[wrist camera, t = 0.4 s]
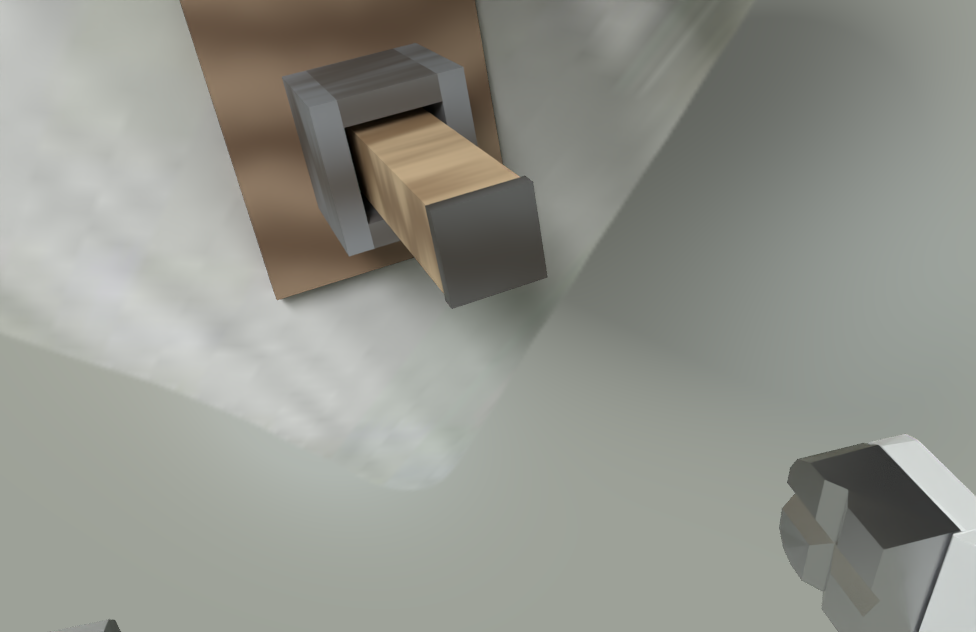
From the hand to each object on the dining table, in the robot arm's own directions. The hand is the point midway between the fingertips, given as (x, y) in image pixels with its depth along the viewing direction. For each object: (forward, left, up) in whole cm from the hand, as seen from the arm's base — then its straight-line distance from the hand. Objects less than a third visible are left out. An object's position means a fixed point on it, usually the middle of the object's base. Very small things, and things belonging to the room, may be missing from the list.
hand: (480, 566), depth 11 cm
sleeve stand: (+7, +8, -46) cm, 47 cm away
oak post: (+7, +8, -44) cm, 45 cm away
